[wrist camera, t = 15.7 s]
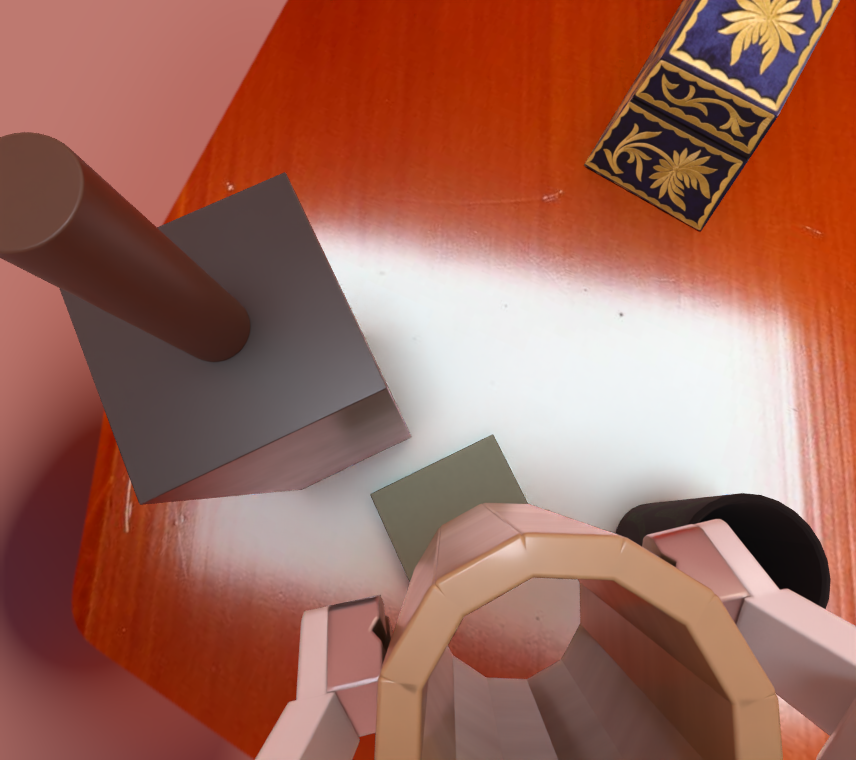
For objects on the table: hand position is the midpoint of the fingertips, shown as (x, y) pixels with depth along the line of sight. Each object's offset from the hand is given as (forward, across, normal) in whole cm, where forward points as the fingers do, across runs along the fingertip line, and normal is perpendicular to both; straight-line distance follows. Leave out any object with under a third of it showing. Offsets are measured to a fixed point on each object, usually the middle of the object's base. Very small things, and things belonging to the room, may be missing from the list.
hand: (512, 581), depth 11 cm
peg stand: (+26, +8, +14) cm, 31 cm away
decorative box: (+43, -30, -2) cm, 52 cm away
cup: (+16, -14, +24) cm, 32 cm away
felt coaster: (+20, 0, +21) cm, 29 cm away
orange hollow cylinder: (+2, 0, +4) cm, 5 cm away
